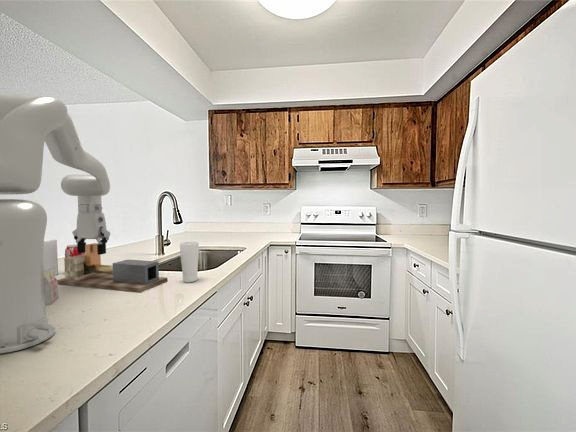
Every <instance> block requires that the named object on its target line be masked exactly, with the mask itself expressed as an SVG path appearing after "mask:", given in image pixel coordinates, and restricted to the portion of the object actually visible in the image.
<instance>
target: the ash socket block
mask: <svg viewBox="0 0 576 432" xmlns="http://www.w3.org/2000/svg"><path fill="white" fill-rule="evenodd" d="M63 262H64V264H63V265H64V278H65V279H68V280H80V279H84V278H88V277H91V276H95V275H98V274H101V273H92V272H84V263H85V264H86V253H85V254H84V255H79V256H74V257H68V258H65V257H64V261H63ZM98 265H102V262H101V258H100V264H98Z"/></svg>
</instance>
